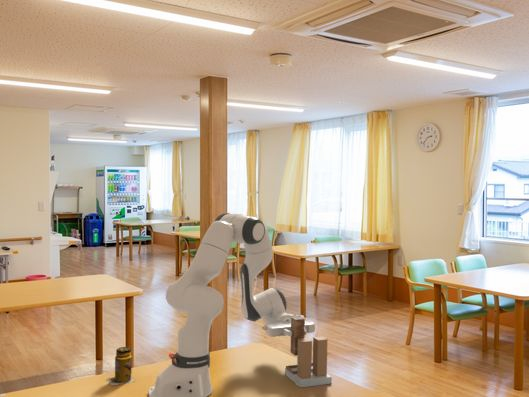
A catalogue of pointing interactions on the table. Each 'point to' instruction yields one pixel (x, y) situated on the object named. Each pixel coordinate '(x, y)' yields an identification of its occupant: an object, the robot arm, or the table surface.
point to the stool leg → (297, 332)
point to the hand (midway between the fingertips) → (298, 333)
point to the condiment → (122, 367)
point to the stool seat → (310, 363)
